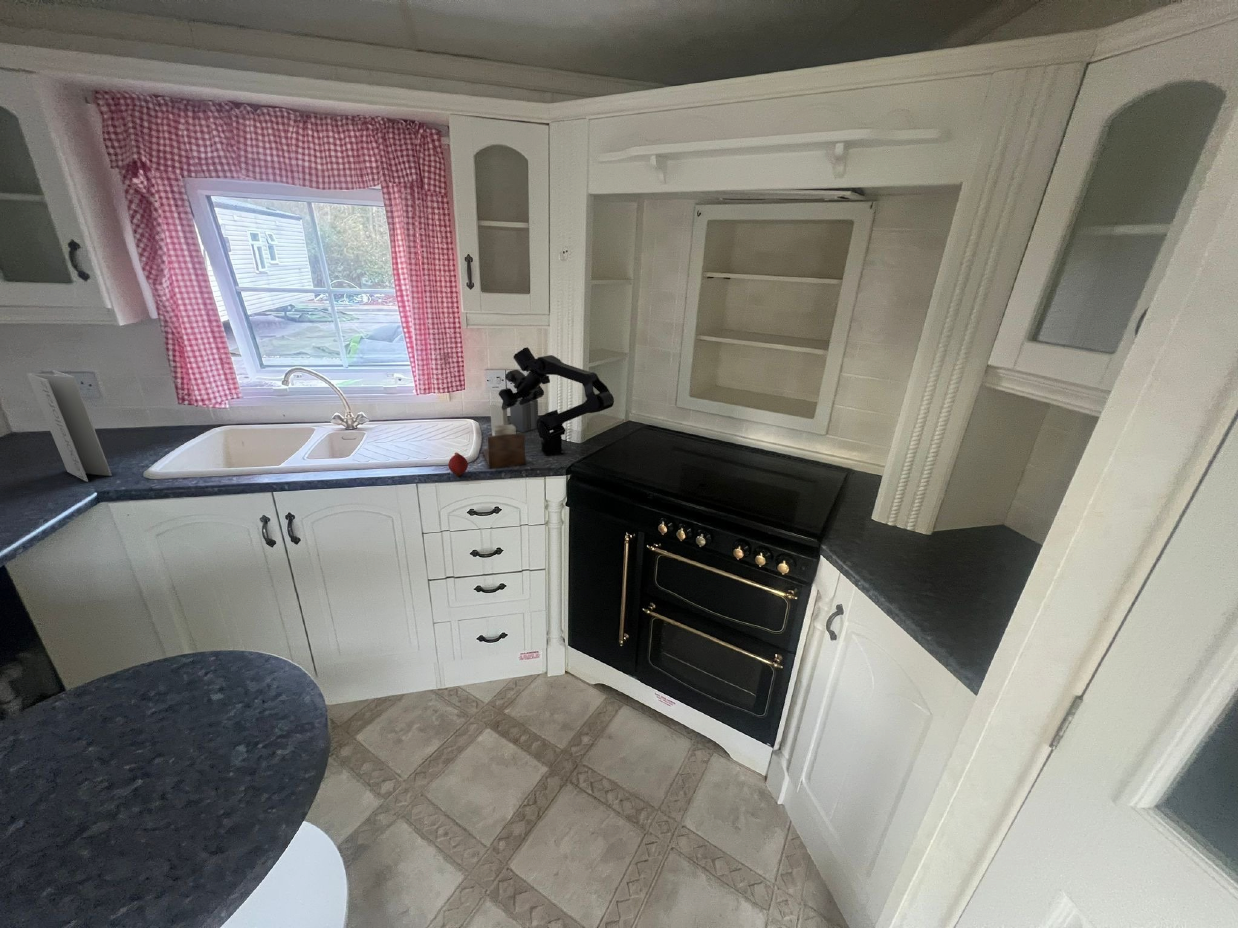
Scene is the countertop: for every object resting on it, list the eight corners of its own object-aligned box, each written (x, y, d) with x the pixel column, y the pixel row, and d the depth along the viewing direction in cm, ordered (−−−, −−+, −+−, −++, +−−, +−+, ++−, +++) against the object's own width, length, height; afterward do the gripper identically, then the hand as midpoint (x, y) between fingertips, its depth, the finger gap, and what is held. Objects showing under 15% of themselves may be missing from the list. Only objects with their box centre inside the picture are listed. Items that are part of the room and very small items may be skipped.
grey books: (526, 424, 211) (525, 395, 206) (538, 427, 207) (537, 398, 203) (510, 429, 204) (509, 399, 199) (523, 432, 200) (522, 402, 196)
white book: (496, 433, 198) (494, 404, 193) (508, 437, 194) (506, 408, 190) (491, 435, 196) (490, 405, 191) (504, 438, 192) (502, 409, 188)
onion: (460, 470, 162) (458, 447, 159) (472, 475, 159) (470, 451, 156) (445, 476, 157) (443, 452, 154) (457, 480, 154) (455, 457, 151)
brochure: (67, 471, 150) (26, 373, 139) (91, 465, 154) (54, 370, 143) (87, 481, 144) (46, 380, 133) (112, 475, 148) (74, 376, 137)
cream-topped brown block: (515, 449, 182) (514, 415, 178) (525, 464, 169) (523, 428, 164) (482, 452, 178) (480, 417, 173) (489, 468, 164) (487, 431, 160)
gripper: (537, 360, 184) (516, 385, 194) (500, 367, 169) (480, 394, 179) (553, 383, 183) (532, 408, 192) (518, 393, 168) (497, 418, 178)
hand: (511, 406), depth 185 cm, fingers open, 9 cm apart
